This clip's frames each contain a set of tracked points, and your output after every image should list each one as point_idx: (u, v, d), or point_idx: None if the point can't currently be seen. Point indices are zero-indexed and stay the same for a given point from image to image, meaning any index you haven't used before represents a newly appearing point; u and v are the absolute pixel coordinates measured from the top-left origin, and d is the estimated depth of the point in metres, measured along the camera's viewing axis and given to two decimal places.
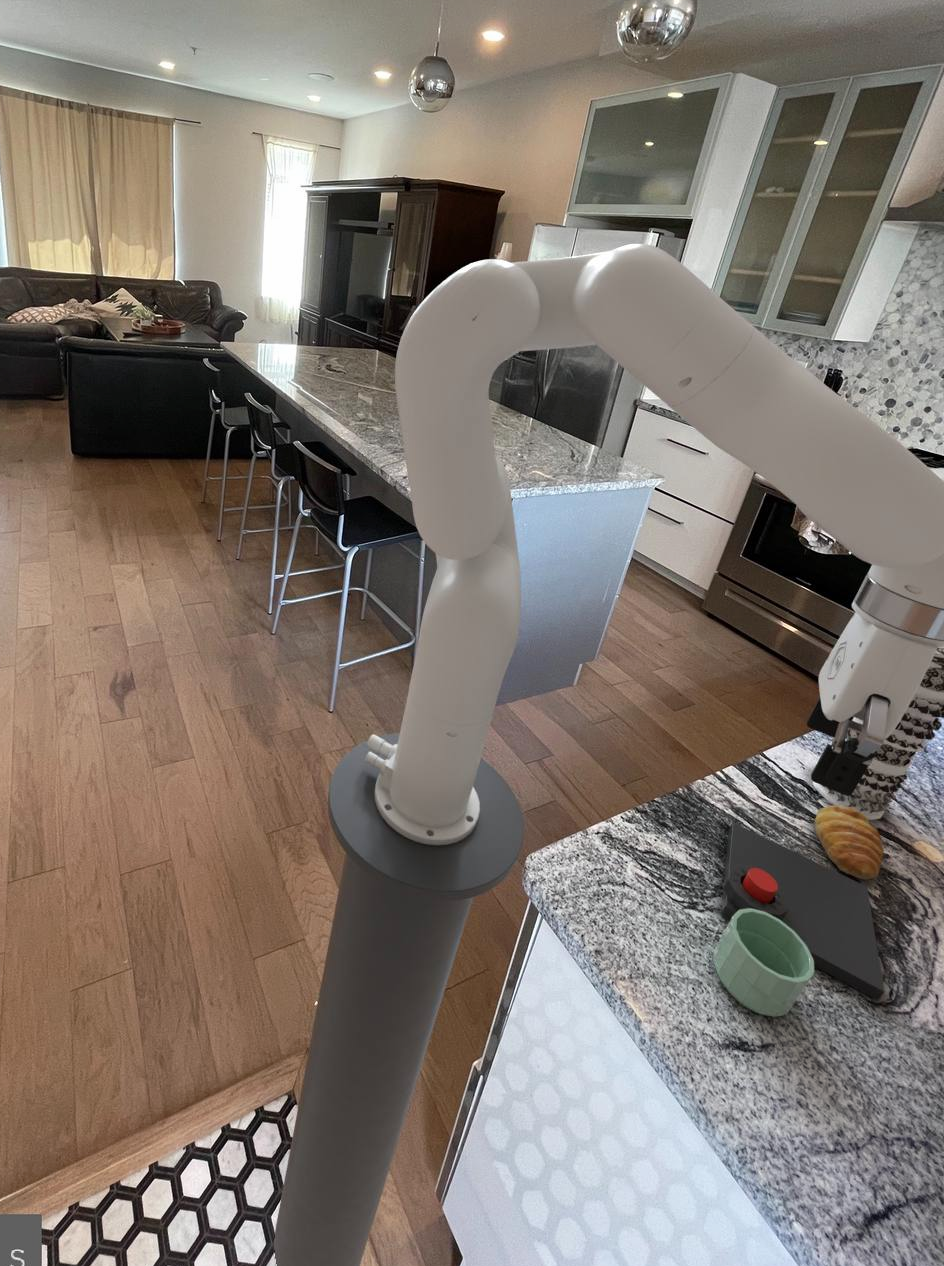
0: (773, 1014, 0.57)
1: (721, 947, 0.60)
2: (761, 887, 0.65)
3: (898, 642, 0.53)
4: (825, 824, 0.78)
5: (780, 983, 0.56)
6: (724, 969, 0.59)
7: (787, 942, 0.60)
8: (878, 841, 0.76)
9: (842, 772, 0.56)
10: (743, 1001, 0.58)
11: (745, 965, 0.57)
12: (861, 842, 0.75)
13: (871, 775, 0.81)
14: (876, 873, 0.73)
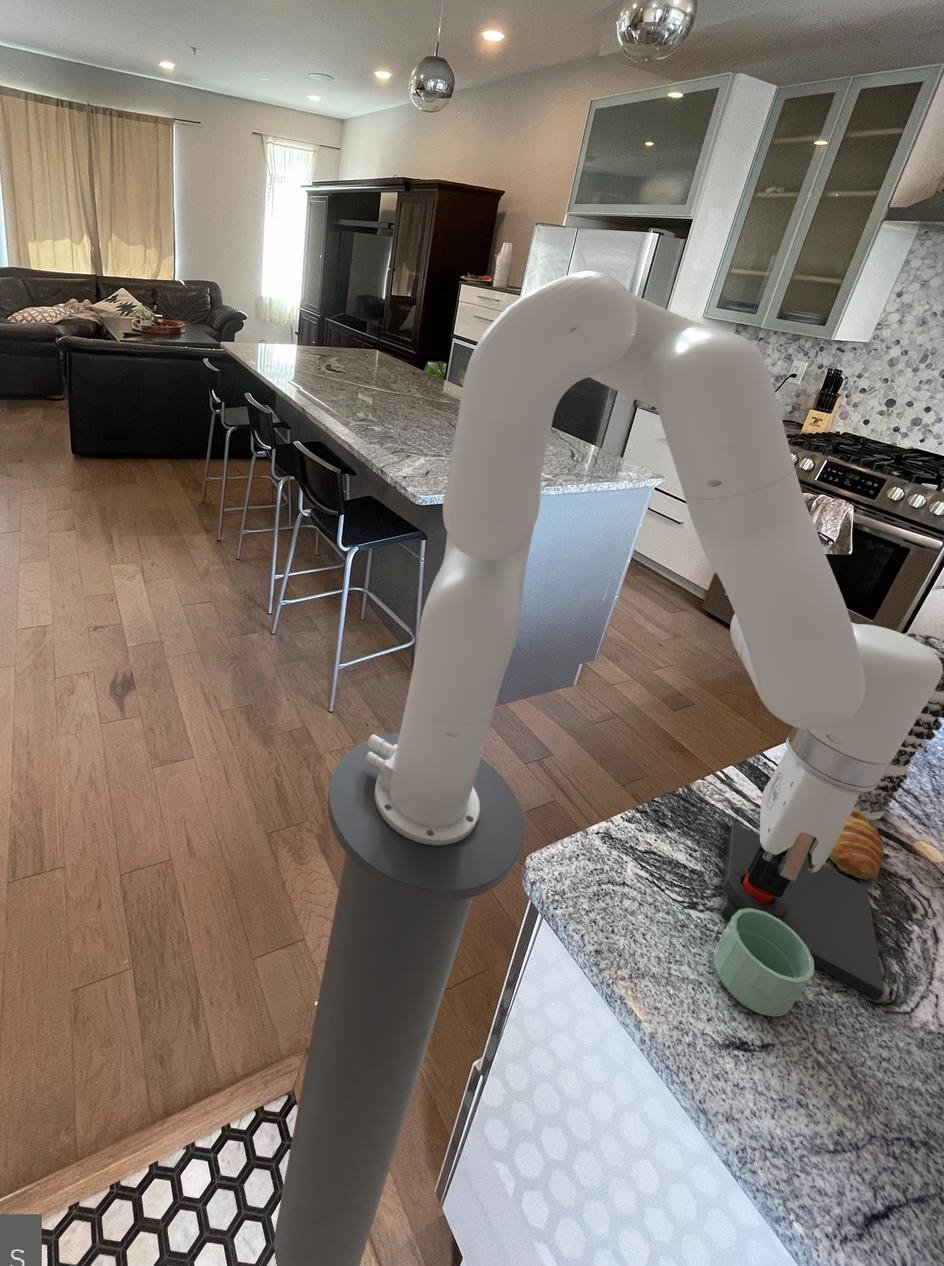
0: (773, 1014, 0.57)
1: (721, 947, 0.60)
2: (759, 891, 0.66)
3: (824, 788, 0.57)
4: None
5: (780, 983, 0.56)
6: (724, 969, 0.59)
7: (787, 942, 0.60)
8: (878, 841, 0.76)
9: (772, 878, 0.64)
10: (743, 1001, 0.58)
11: (745, 965, 0.57)
12: (861, 842, 0.75)
13: None
14: (876, 873, 0.73)
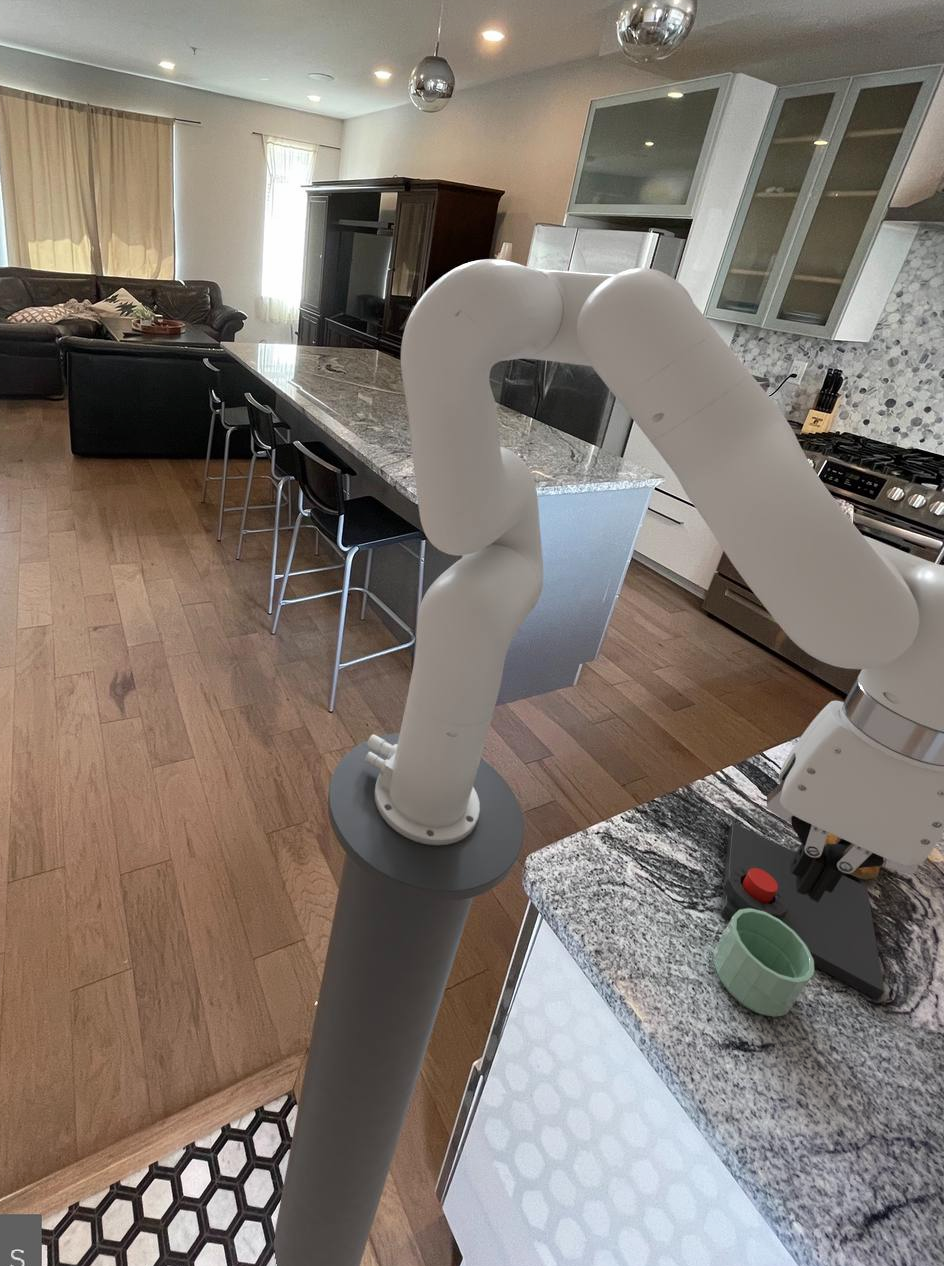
0: (773, 1014, 0.57)
1: (721, 947, 0.60)
2: (761, 887, 0.65)
3: (826, 709, 0.52)
4: None
5: (780, 983, 0.56)
6: (724, 969, 0.59)
7: (787, 942, 0.60)
8: None
9: (798, 856, 0.55)
10: (743, 1001, 0.58)
11: (745, 965, 0.57)
12: None
13: None
14: (876, 873, 0.73)
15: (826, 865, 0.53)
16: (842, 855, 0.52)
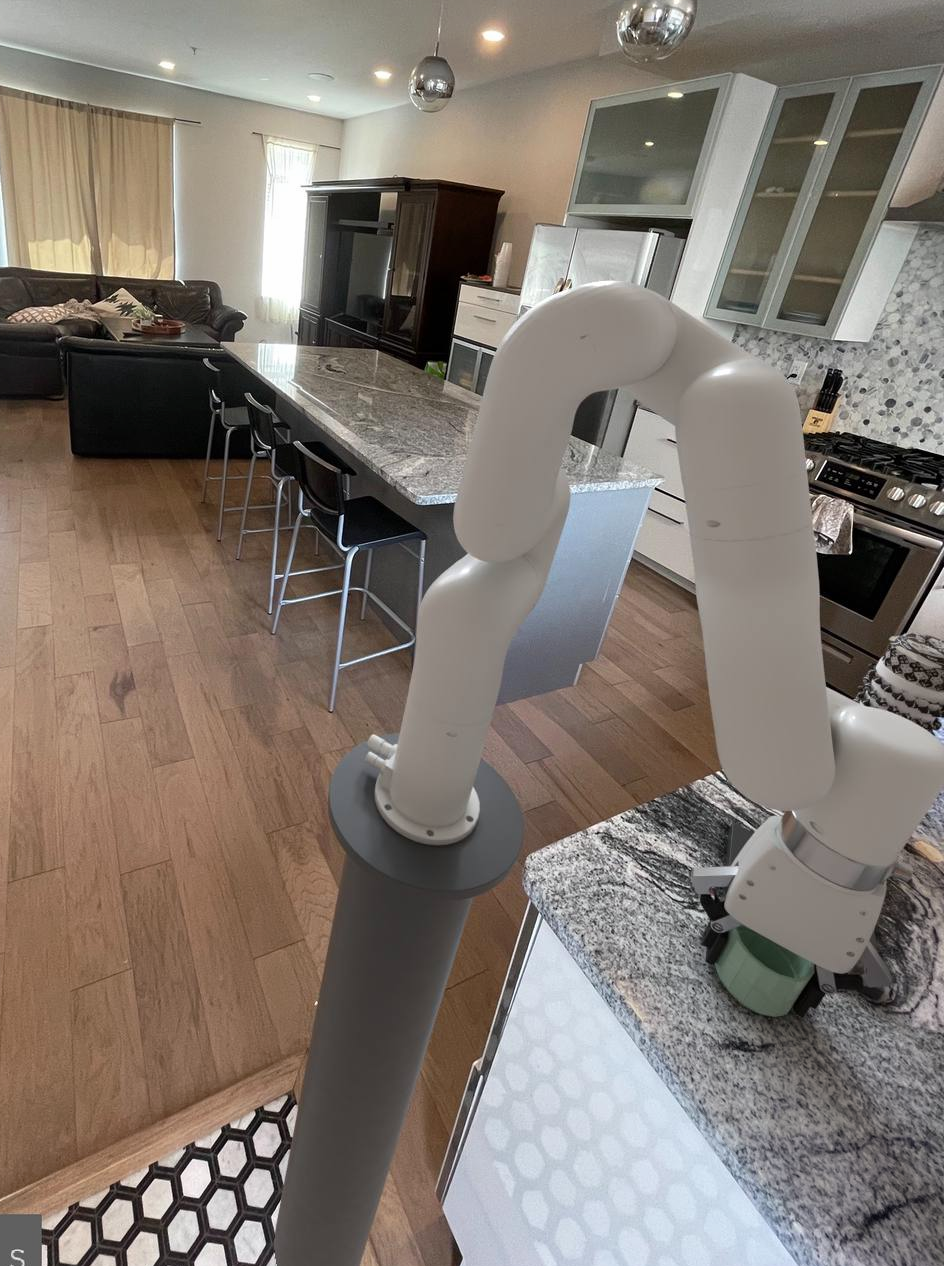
0: (773, 1014, 0.57)
1: None
2: None
3: (765, 825, 0.57)
4: None
5: (780, 983, 0.56)
6: (724, 969, 0.59)
7: None
8: None
9: (707, 929, 0.61)
10: (743, 1001, 0.58)
11: (745, 965, 0.57)
12: None
13: None
14: None
15: (810, 985, 0.56)
16: (818, 978, 0.56)
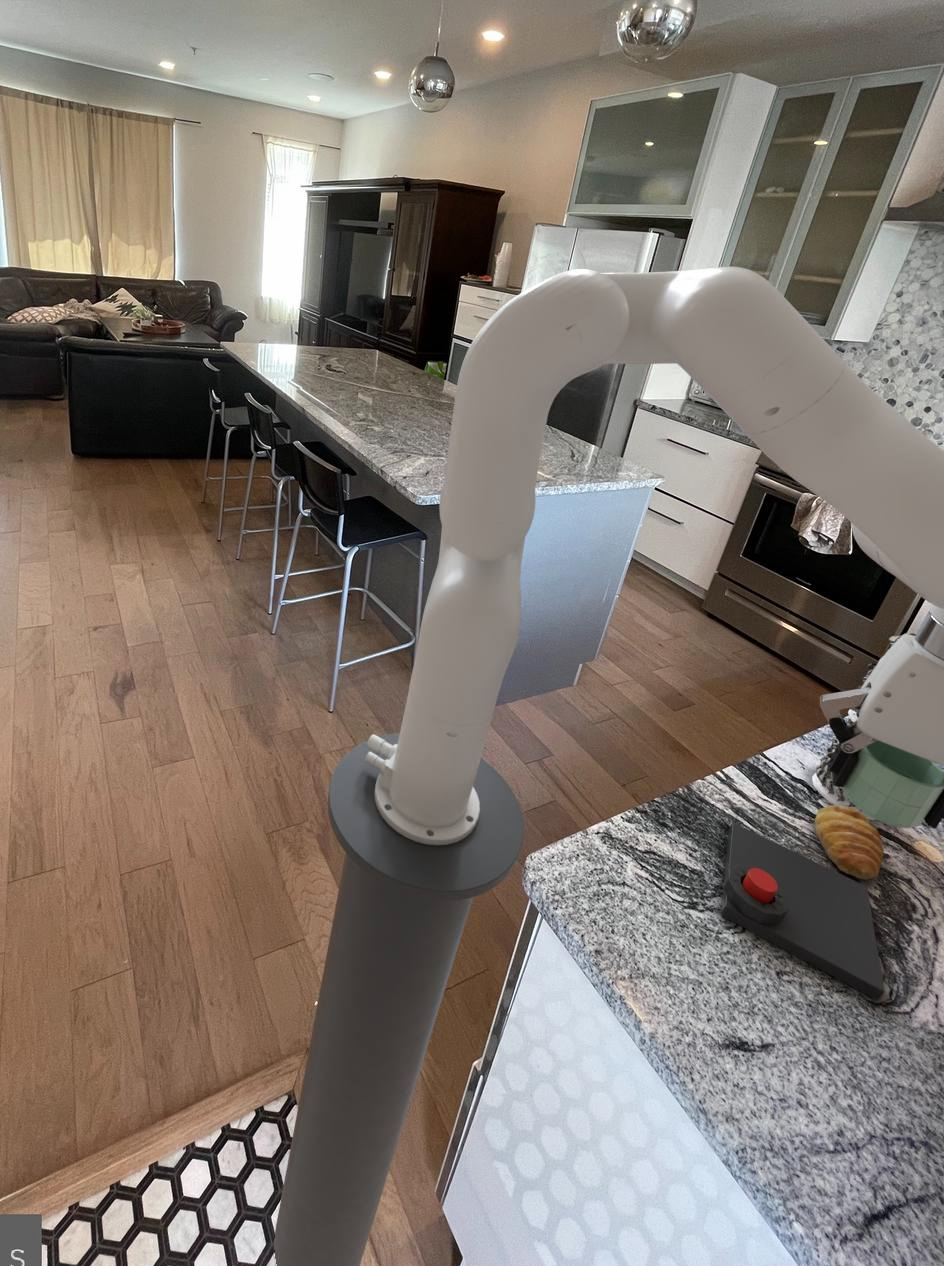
0: (907, 824, 0.59)
1: None
2: (761, 887, 0.65)
3: (899, 640, 0.59)
4: (825, 824, 0.78)
5: (917, 789, 0.58)
6: (855, 788, 0.62)
7: (914, 764, 0.62)
8: (878, 841, 0.76)
9: (835, 755, 0.64)
10: (877, 814, 0.60)
11: (880, 777, 0.59)
12: (861, 842, 0.75)
13: None
14: (876, 873, 0.73)
15: None
16: None
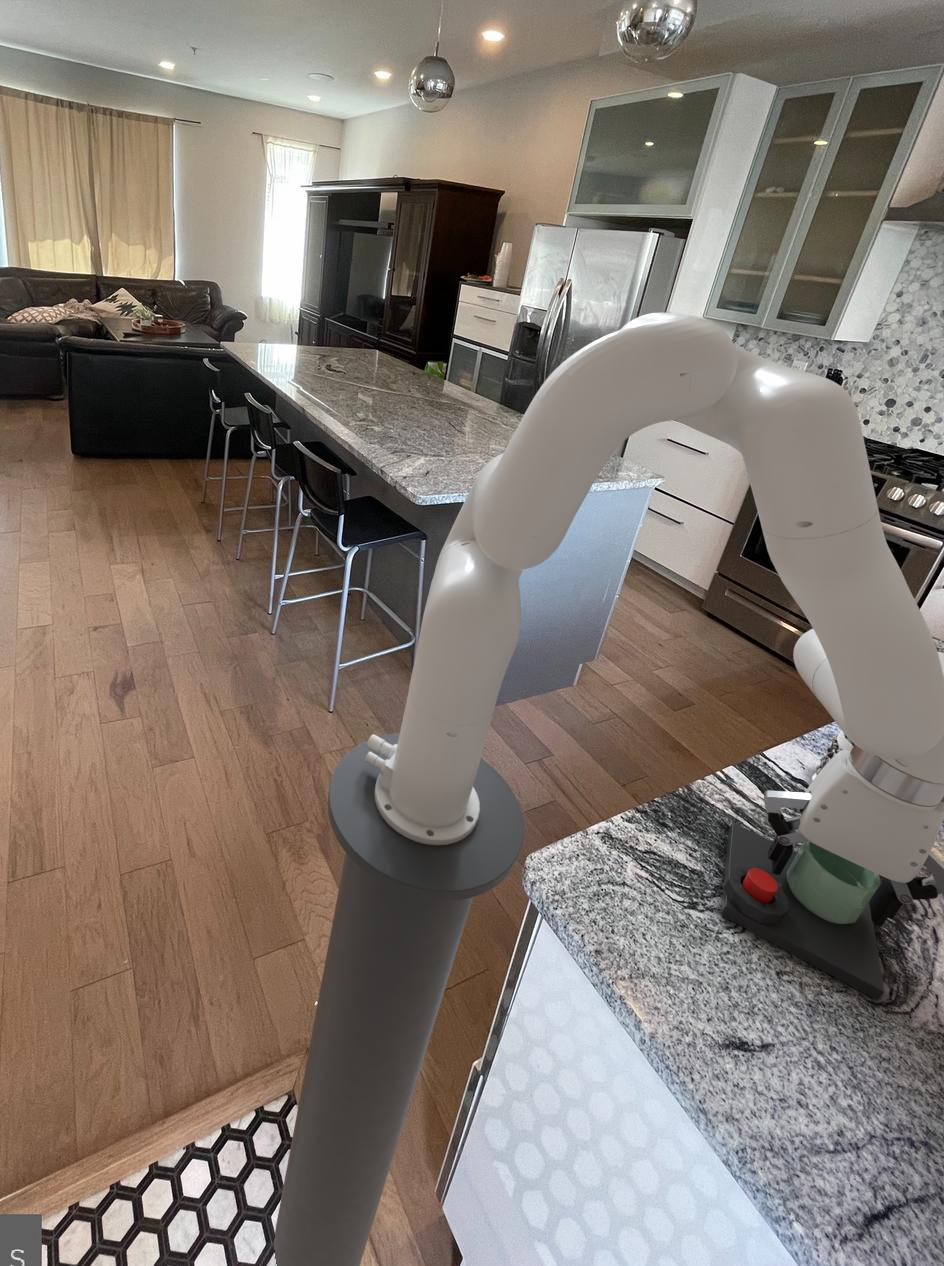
0: (844, 921, 0.66)
1: (795, 867, 0.69)
2: (761, 887, 0.65)
3: (836, 757, 0.65)
4: None
5: (851, 892, 0.64)
6: (799, 885, 0.68)
7: (853, 863, 0.69)
8: None
9: (773, 845, 0.70)
10: (817, 911, 0.66)
11: (819, 879, 0.66)
12: None
13: None
14: None
15: (888, 897, 0.64)
16: (895, 891, 0.64)
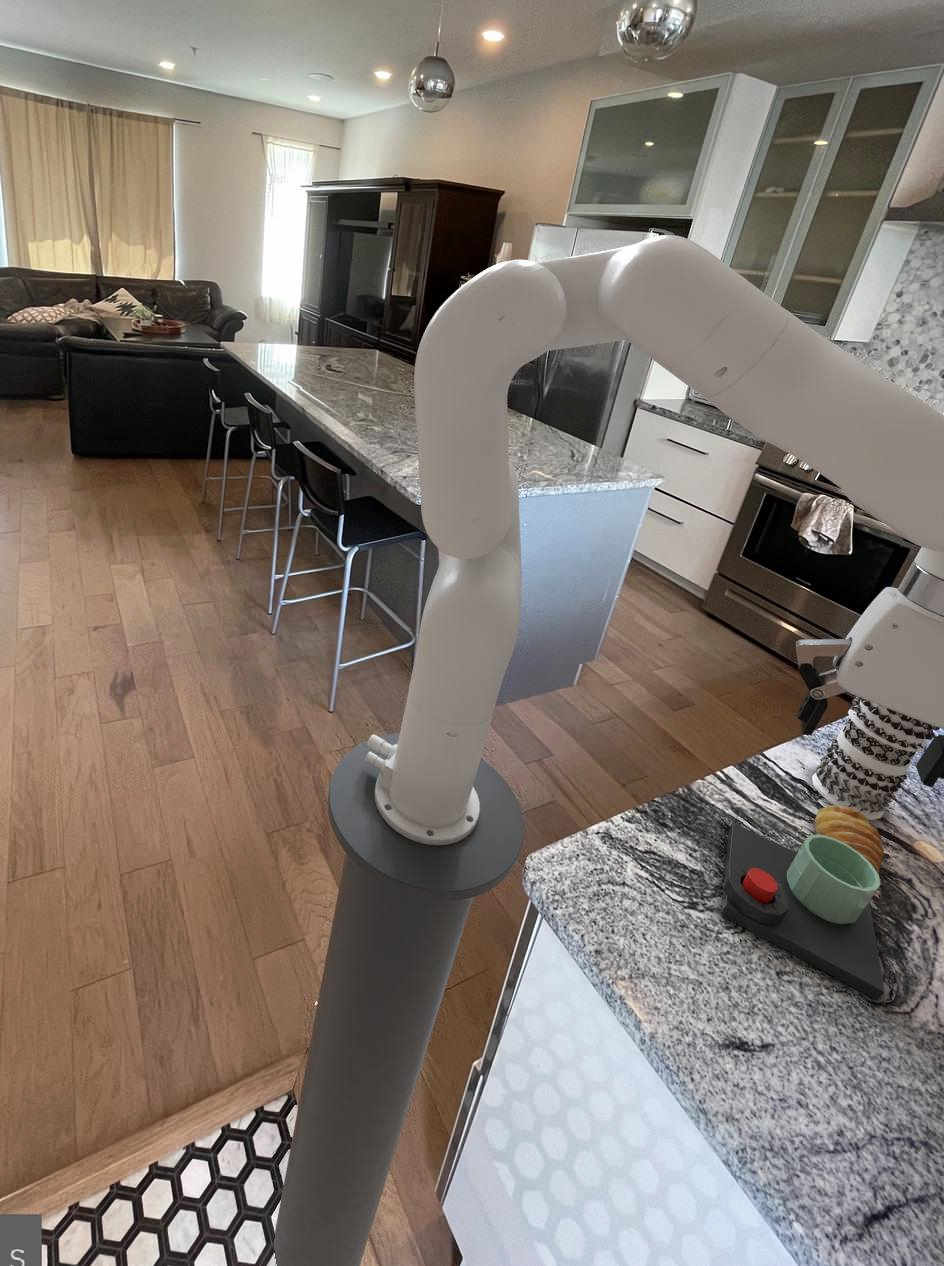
0: (844, 921, 0.66)
1: (795, 867, 0.69)
2: (761, 887, 0.65)
3: (882, 592, 0.57)
4: (825, 824, 0.78)
5: (851, 892, 0.64)
6: (799, 885, 0.68)
7: (853, 863, 0.69)
8: (878, 841, 0.76)
9: (804, 703, 0.62)
10: (817, 911, 0.66)
11: (819, 879, 0.66)
12: (861, 842, 0.75)
13: (871, 775, 0.81)
14: None
15: (942, 751, 0.56)
16: None
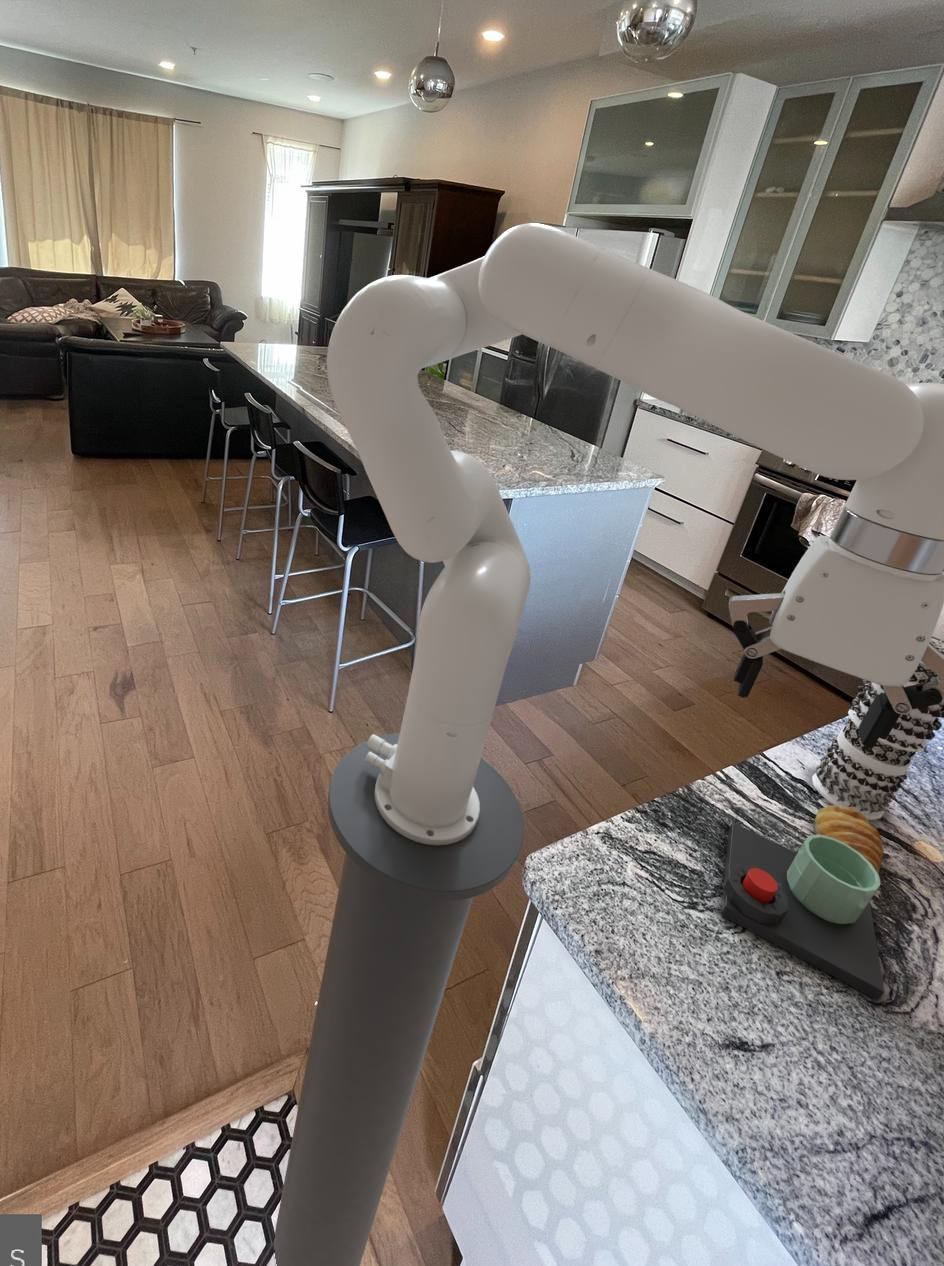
0: (844, 921, 0.66)
1: (795, 867, 0.69)
2: (761, 887, 0.65)
3: (814, 541, 0.53)
4: (825, 824, 0.78)
5: (851, 892, 0.64)
6: (799, 885, 0.68)
7: (853, 863, 0.69)
8: (878, 841, 0.76)
9: (740, 664, 0.58)
10: (817, 911, 0.66)
11: (819, 879, 0.66)
12: (861, 842, 0.75)
13: (871, 775, 0.81)
14: None
15: (881, 709, 0.52)
16: (889, 700, 0.52)
